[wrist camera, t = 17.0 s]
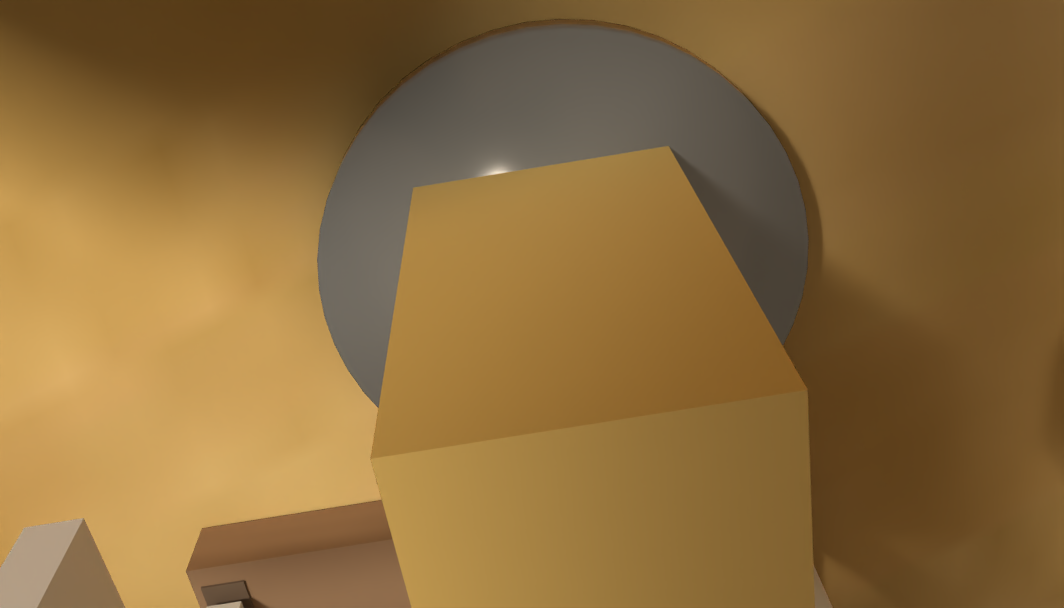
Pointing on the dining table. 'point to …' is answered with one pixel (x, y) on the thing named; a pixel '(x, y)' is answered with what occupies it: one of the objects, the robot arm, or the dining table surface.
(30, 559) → the robot arm
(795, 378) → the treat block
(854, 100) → the dining table surface
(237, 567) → the board
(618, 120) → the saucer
